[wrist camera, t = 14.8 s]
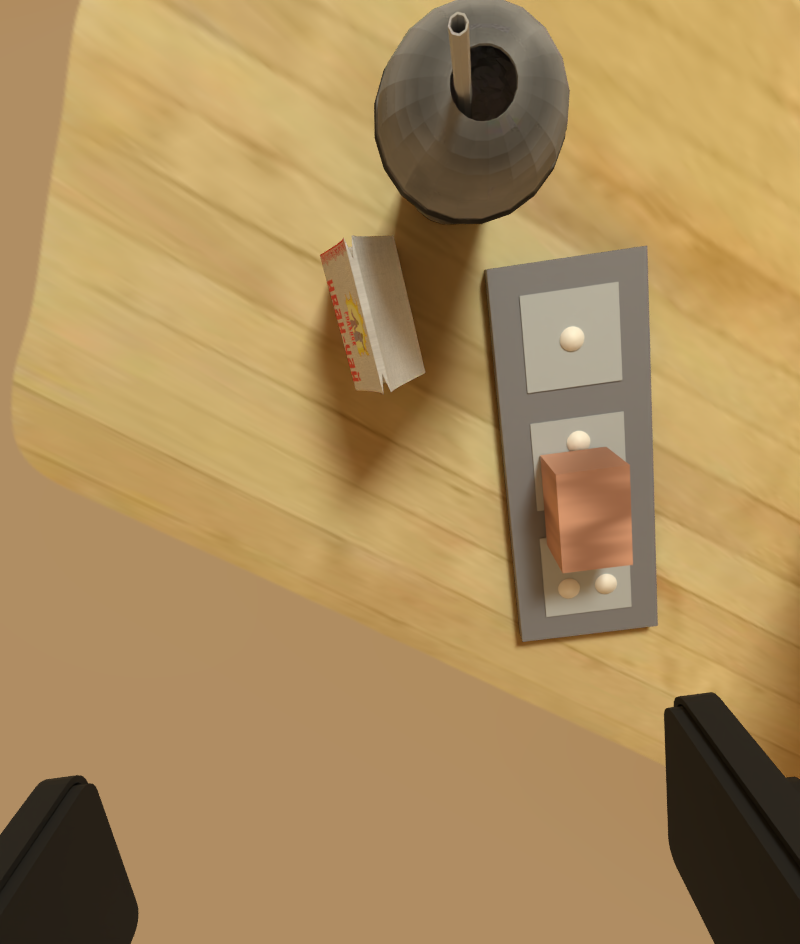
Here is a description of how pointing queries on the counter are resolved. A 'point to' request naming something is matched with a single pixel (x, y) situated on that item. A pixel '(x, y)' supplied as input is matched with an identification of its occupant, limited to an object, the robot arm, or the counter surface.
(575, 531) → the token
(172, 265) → the counter surface
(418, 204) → the beverage cup
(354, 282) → the gable top carton
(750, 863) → the robot arm
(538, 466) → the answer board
